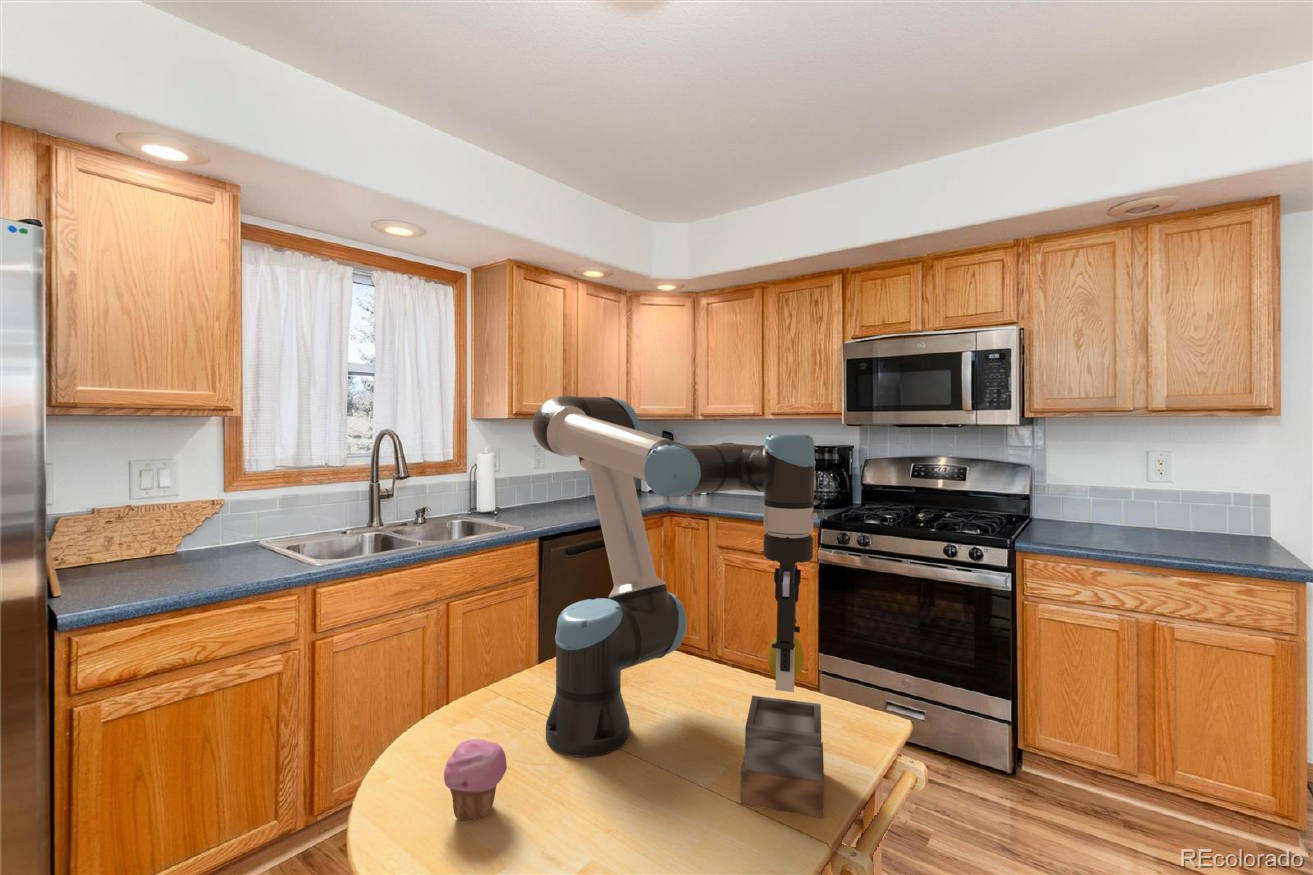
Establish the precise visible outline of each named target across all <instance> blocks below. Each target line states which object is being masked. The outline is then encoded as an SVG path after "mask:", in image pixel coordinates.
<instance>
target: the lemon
mask: <svg viewBox="0 0 1313 875" xmlns="http://www.w3.org/2000/svg"><path fill="white" fill-rule="evenodd" d="M776 642H777V635H775V636H774V637H773V639H771V641H770V643H769V646H768V651H767V664H768V668H769V670H770V672H771V673H772V675H773V676H775V677H776V648H772V644H776ZM794 644H795V668H794V680H795V679H797V678H798V677H799V676H800V675H801V673H802V671H803V669H804V664H805V655H804V654H805V653H804V649H803V645H802V643H801V641H800V640H799V639H798V638H797V636H796V637H794Z"/></svg>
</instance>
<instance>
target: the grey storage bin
mask: <svg viewBox="0 0 1313 875" xmlns="http://www.w3.org/2000/svg"><path fill="white" fill-rule="evenodd" d="M821 706H822V705H821V703H818V702H817V703H816V702H810V701H809V702H808V701H800V700H791V699H781V698H775V697H766V696H760V695H759V696H758V695H751V700H750V704H749V710H748V712H747V713H748V714H747V718H746V724H745V728H744V730H745V732H744V733H745V734H744V754H743V759H742V764H741V770H740V789H739V790H740V794H739V795H740V798H739V799H740V800H739V801H740V802H739V803H740V805H743V806H744V805H745V806H749V807H750V806H751V807H756V808H761V809H762V808H763V809H769V810H774V811H780V812H786V813H794V814H799V815H804V816H805V815H806V816H809V817H811V816H812V817H817V818H822V819H823V818H824V805H825V804H824V803H825V800H824V799H825V769H824V766H825V765H824V742H822V738H823V737H822V710H821V709H822V707H821Z"/></svg>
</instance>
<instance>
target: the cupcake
mask: <svg viewBox="0 0 1313 875" xmlns="http://www.w3.org/2000/svg"><path fill="white" fill-rule="evenodd" d="M507 769H508V766H507V757H506V753H505V751H504V749H503V747H502V746H501V745H500V744H499V743H497V742H494V741H490V740H489V741H488V740H486V739H483V738H472V739H467V740H465V741H462V742H460V743H459V744H458V745H457V746H456V747H455V750H453V752H452V754H451V755H450V756H449V757H448V759H447V762H446V764H445V767H444V772H443V780H444V785H445V786H446V787H447V788H448V789H449V791H450V793H451V797H452V806H453V807H452V808H453V814H454V817H455V818H456V819H458V820H459V821H468V819H470V820H474V818H475V819H480V818H483V817H485V816H487V815H488V814H489V813H490V812H491V811H492V808H493V806H494V801H495V796H496V790H497V785H498V784H499V783H500V782H501V781H502V780H503V777H504V775H505V774H506V772H507Z"/></svg>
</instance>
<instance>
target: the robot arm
mask: <svg viewBox="0 0 1313 875" xmlns="http://www.w3.org/2000/svg"><path fill="white" fill-rule="evenodd" d="M532 431H533V436H534V438H535V440H536V442H537V443H538V444H539V445H540V447H541V448H543V449H545V450H546V451H548V452H550V453H553V454H555V455H558V456H561V457H572V456H576V457H578V460H579V464H580V467H582V468H583V469H585V470H587V471H588V473H589V477H590V481H591V487H592V490H593V495H594V501H595V505H596V509H597V514H598V518H599V522H600V527H601V532H602V535H603V536H602V537H603V541H604V545H605V550H606V555H607V558H608V559H607V560H608V564H609V569H610V574H611V578H612V582H613V588H612V589H611V592H610V593H609V595H608V598H604V597H603V598H602V597H601V598H600V597H599V598H598V597H596V598H595V599H591V598H590V599H584V600H579V601H577V602H574V603H572V604H570V605H568V606H566V607H565V608H564V609H563V610H562V611H561V612H560V613H559V616H558V617H557V621H556V622H557V623H556V633H555V637H554V640H555V644H556V645H555V646H556V649H555V653H556V654H555V656H556V657H555V695H554V698H553V701H552V704H551V707H550V711H549V714H548V716H547V718H546V722H545V741H546V743H547V745H548V746H549V747H550V748H551V749H553V750H554V751H556V752H558V753H561V754H565V755H569V756H575V757H593V756H594V757H595V756H601V755H605V754H608V753H611V752H613V751H616V750H618V749H619V748H621V747H622V746H624V745H625V744H626V743H627V742H628V740H629V739H630V738H629V737H630V733H631V732H630V731H631V730H630V729H631V727H630V726H631V722H630V717H629V715H628V711H627V708H626V704H625V702H624V699H623V696H622V692H621V691H622V690H621V681H622V680H621V678H622V674H621V673H622V672H621V671H623V670H625V669H628V668H631V667H635V666H637V665H640V664H643V663H646V662H650V661H652V660H655V659H661V658H664V657H665V656H667V655H669V654H670V653H673V652H675V651H676V650H678V649H679V647H680V646H681V644H682V643H683V640H684V638H685V637H686V633H687V625H688V622H687V621H688V620H687V619H688V618H687V613H686V609H685V607H684V605H683V602H682V601H681V600H680V599H679V598H678V596H677V595H676V594H674V593H672V592H669V591H668V587H667V583H666V582H665V581H664V580H663V579H661V578H659V577H658V576H657V574H656V570H655V569H656V568H655V566H654V562H653V556H652V553H651V549H650V544H649V540H648V535H647V531H646V527H645V523H644V519H643V514H642V510H641V507H640V506H641V505H640V503H639V502H640V501H639V497H638V494H637V490H636V488H637V487H636V485H635V480H634V478H635V479H639V480H641V481H645V483H646V485H647V486H648V487H649V488H650V489H651V492H653V493H654V494H656V495H658V496H661V497H672V498H673V497H674V498H679V497H684V496H690V495H698V494H707V493H716V492H717V493H718V492H728V491H739V490H740V491H751V492H759V493H763V496H764V497H763V499H764V501H763V502H764V503H763V530H765V532H766V533H765V534H764V535H763V551H762V552H763V553H762V554H763V556H764V558H765V559H767V560H768V561H769V560H770V561H773V562H774V561H775V562H778V563H779V567H775V568H774V569H775V570H774V572H773V573H774V574H773V577H774V578H773V581H774V583H775V587H774V588H775V592H774V594H775V595H774V596H775V597H774V599H775V601H777V604H776V606H777V608H776V636H777V642H776V644H772V648H776V676H775V691H781V692H789V693H790V692H791V693H795V679H794V668H795V644H794V637H796V638H797V633H801V626H799V625H798V626H796V624H797V618H796V617H797V616H796V612H797V611H796V610H797V604H796V603H797V602H799V593H800V591H799V590H800V584H801V576H802V575H801V574H802V570H801V569H799V568H798V565H797V563H808V562H810V561H812V560H813V558H814V537H813V535H811V533H812V532H813V531H814V520H817V519H818V518H819V516H818V513H816V512H813V511H814V506H815V504H814V503H815V502H814V493H815V490H814V489H815V470H816V469H815V468H816V463H817V462H816V460H815V459H816V458H815V456H816V454H815V440H814V438H813V437H812V436H811V435H810V434H807V433H782V432H781V433H769V434H767V435H766V436H765V442H764V444H761V445H758V444H757V445H756V444H745V443H744V444H743V443H734V442H722V443H714V444H701V445H700V444H699V445H698V444H685V443H683V442H678V441H675V440H671V439H669V438H665V437H661V436H659V435H655V434H651V433H647V432H643V431H641V425H640V421H639V417H638V415H637V413H636V411H635V409H634V408H633V407H632V406H631V405H630V403H628V402H627V401H625V400H623V399H622V398H621V399H620V398H613V397H611V396H601V397H599V396H576V395H575V396H573V395H560V396H555V397H552V398H550V399H548V400H546V401H544V403H542V404H541V405H540V406H539V407H538V409H537V410H536V412H535V413H534V416H533V419H532Z"/></svg>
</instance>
